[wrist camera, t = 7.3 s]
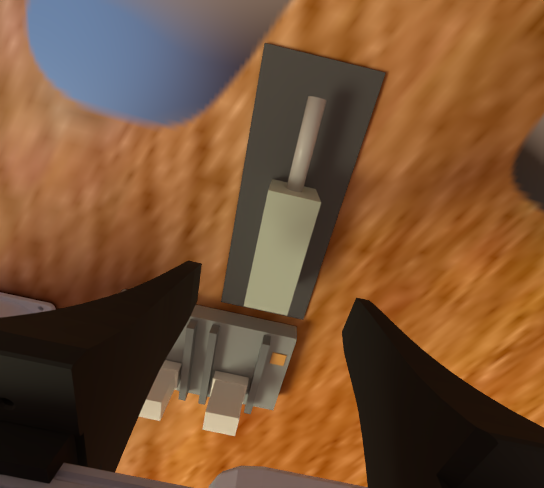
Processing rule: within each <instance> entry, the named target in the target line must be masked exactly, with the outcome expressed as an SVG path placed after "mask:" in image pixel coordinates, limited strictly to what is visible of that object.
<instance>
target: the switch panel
mask: <svg viewBox="0 0 544 488" xmlns="http://www.w3.org/2000/svg"><path fill="white" fill-rule="evenodd" d="M123 291H126V289H123V290H122V291H121V292H123ZM296 341H297V326H292V325H288V324H283V323H278V322H274V321H269V320H265V319H260V318H255V317H251V316H246V315H242V314H237V313H232V312H228V311H223V310H218V309H214V308H209V307H205V306H200V305H195V307H194V309H193V312H192V314H191V316H190V319H189V320H188V322H187V324H186V326H185V327H184V329H183V331H182V332H181V334H180V336H179V338H178V339H177V341H176V343H175V344H174V346H173V348H172V349H171V351H170V353H169V354H168V356H167V358H166V359H165V360H168V361H172V362H177V363H182V368H181V377H180V383H179V386H178V388H177V390H178V391H179V399H180V400H186V397H187V395H188V393H193V394H198V395H200V396H199V402H198V403H199V404H204V405H205V403H206V399H207V397H210V393H211V387H212V382H213V377H214V374H215V371H220V372H225V373H229V374H234V375H239V376H244V377H248V378H249V380H248V386H247V390H246V394H245V397H244V401H243V404H245V410H244V413H248V414H251V411H252V407H253V406H256V407H260V408H265V409H270V410H273V409H274V406H275V403H276V400H277V397H278V394H279V391H280V388H281V385H282V382H283V379H284V376H285V373H286V370H287V367H288V364H289V361H290V358H291V355H292V352H293V349H294V346H295V343H296Z"/></svg>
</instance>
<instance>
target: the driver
mask: <svg viewBox="0 0 544 488" xmlns="http://www.w3.org/2000/svg"><path fill="white" fill-rule="evenodd" d="M325 105H326V100H325V99H322V98H318V97H313V96H308V100H307V104H306V108H305V112H304V117H303V121H302V125H301V129H300V133H299V137H298V142H297V146H296V150H295V154H294V158H293V162H292V167H291V171H290V175H289V179H288V183H287V182H283V181H279V180H275V179H272V181H271V184H270V187H269V189H268V194H267V198H266V203H265V208H264V212H263V217H262V222H261V227H260V231H259V236H258V241H257V245H256V250H255V255H254V260H253V264H252V269H251V274H250V278H249V283H248V288H247V293H246V297H245V302H244V306H245V307H250V308H254V309H259V310H263V311H268V312H273V313H277V314H282V315H286V316H287V315H288V311H289V308H290V305H291V301H292V298H293V295H294V291H295V288H296V285H297V281H298V278H299V275H300V271H301V268H302V265H303V261H304V258H305V255H306V252H307V248H308V245H309V242H310V238H311V235H312V232H313V228H314V225H315V222H316V218H317V215H318V212H319V208H320V205H321V201H320V198H319V196H318V193H317V191H316V189H313V188H309V187H305V186H304V184H305V180H306V176H307V172H308V169H309V165H310V161H311V157H312V153H313V150H314V146H315V142H316V138H317V135H318V131H319V127H320V123H321V120H322V116H323V112H324V108H325Z"/></svg>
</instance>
